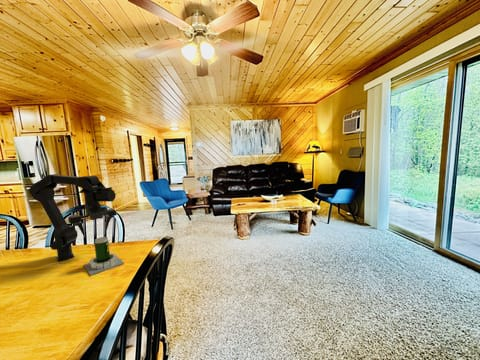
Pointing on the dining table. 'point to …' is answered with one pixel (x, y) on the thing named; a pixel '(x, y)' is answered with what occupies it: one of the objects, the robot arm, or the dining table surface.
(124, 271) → the dining table surface
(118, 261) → the socket plate
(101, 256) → the beer can
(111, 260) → the metal collar
